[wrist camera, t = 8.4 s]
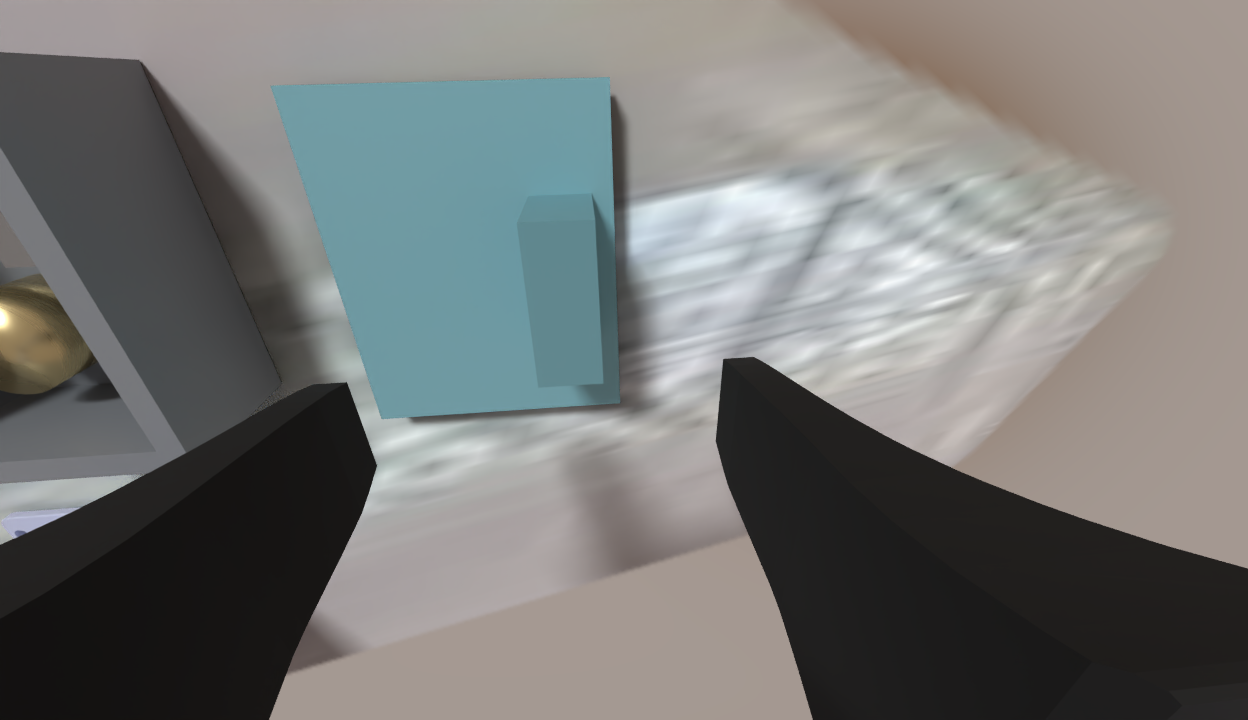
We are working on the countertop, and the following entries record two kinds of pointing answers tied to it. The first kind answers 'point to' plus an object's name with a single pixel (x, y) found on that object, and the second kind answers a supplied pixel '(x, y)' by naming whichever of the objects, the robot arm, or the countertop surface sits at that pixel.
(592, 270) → the lid
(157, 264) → the tub
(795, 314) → the countertop surface
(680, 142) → the countertop surface
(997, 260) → the countertop surface
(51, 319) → the brass knob
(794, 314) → the countertop surface
